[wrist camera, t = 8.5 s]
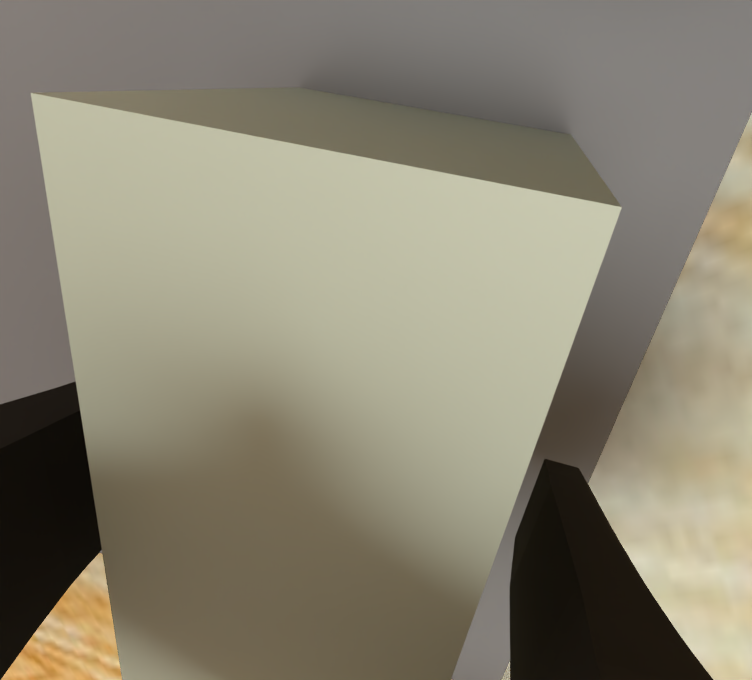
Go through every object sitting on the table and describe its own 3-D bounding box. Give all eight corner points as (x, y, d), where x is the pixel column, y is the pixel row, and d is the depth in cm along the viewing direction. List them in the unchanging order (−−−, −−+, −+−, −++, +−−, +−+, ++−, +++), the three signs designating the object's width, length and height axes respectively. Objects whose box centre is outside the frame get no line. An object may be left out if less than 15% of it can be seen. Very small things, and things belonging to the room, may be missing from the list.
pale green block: (270, 535, 15) (135, 766, 10) (298, 87, 10) (30, 92, 5) (435, 590, 15) (381, 872, 9) (571, 134, 9) (621, 208, 4)
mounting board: (-60, 463, 21) (-92, 483, 20) (-257, -129, 12) (-331, -149, 11) (496, 656, 17) (494, 694, 16) (773, -3, 8) (806, -15, 7)
